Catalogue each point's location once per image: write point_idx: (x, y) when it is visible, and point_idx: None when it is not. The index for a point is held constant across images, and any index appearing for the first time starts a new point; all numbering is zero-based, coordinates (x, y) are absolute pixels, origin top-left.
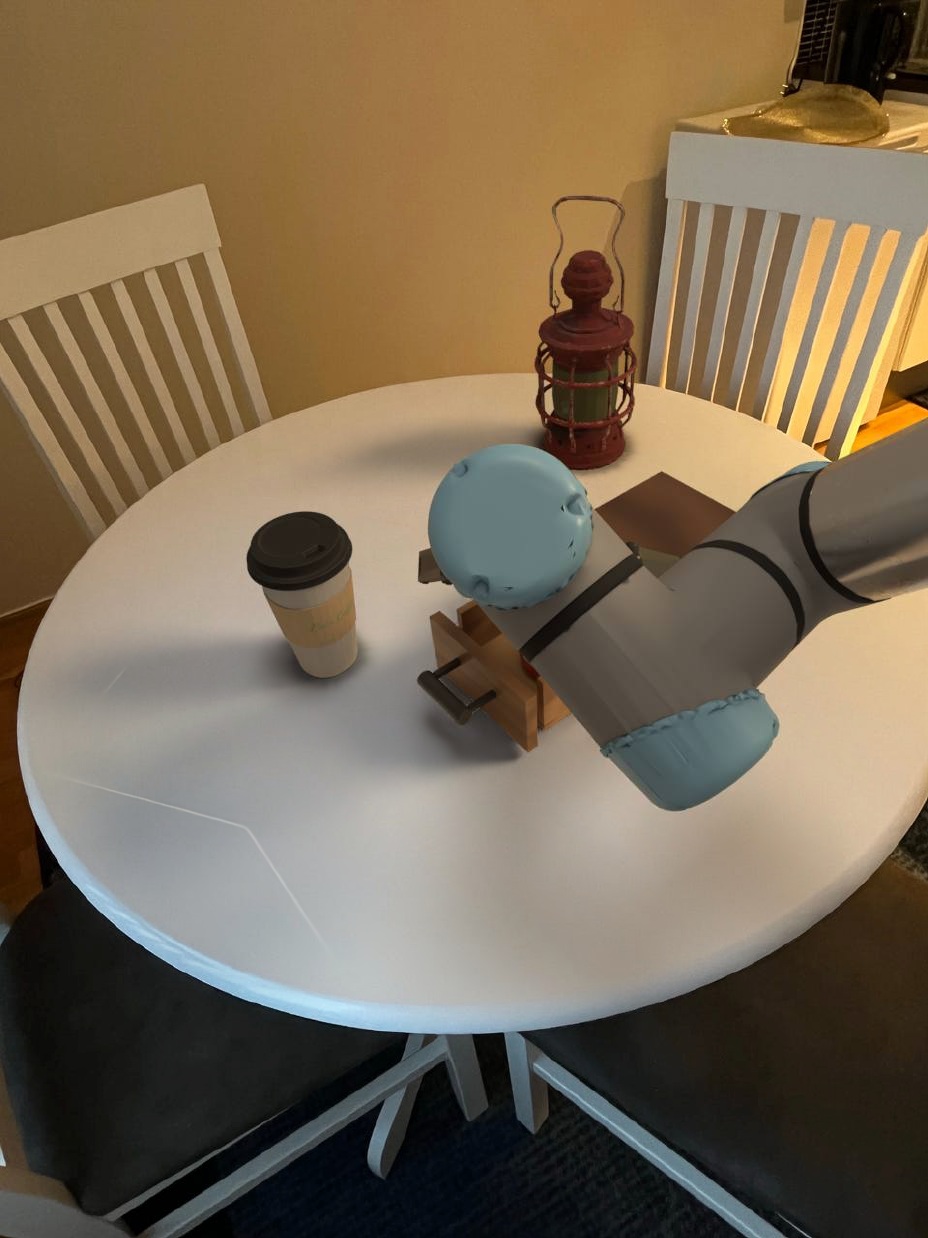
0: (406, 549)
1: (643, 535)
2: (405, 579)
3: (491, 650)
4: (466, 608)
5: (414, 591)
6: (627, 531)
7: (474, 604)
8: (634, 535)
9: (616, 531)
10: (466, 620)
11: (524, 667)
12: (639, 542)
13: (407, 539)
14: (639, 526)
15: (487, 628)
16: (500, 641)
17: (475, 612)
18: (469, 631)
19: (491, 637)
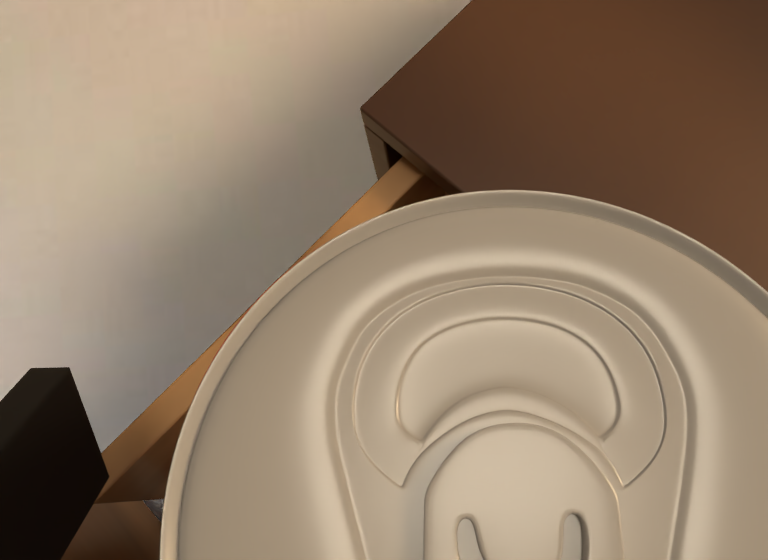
0: (21, 66)
1: (754, 49)
2: (22, 172)
3: None
4: (110, 474)
5: (47, 212)
6: (687, 34)
7: (139, 449)
8: (718, 52)
9: (643, 37)
10: (130, 488)
11: None
12: (745, 88)
13: (22, 31)
14: (730, 3)
15: None
16: None
17: (156, 456)
18: (161, 483)
19: None
